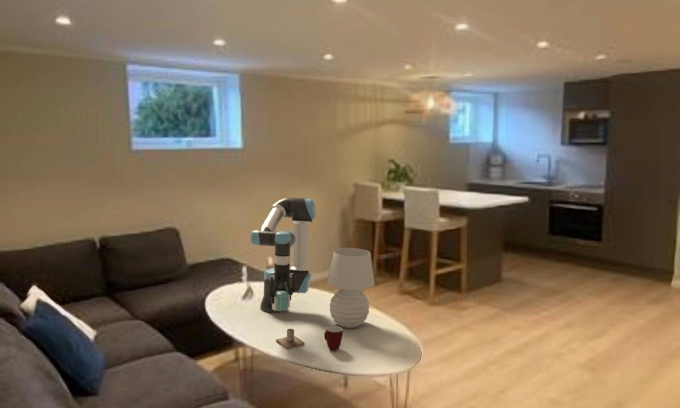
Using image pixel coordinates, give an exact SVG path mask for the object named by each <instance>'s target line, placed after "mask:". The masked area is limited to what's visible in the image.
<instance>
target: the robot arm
mask: <svg viewBox="0 0 680 408" xmlns="http://www.w3.org/2000/svg"><path fill="white" fill-rule="evenodd" d="M268 212H269V213H268V215H267V217H266V218H265V220H264V222H263V223H262V225H261V226H260V228H259V230H258V229H256V230H252V231H251V235H250V242H251V244H252V245H254V246H261V247H262V246H263V247H264V246H265V247H274V264H273V265H274V267H272V268H269V269H266V270H265V271H264V275H263V295H262V299H261V302H260V305H259V306H260V308H259V309H260V310H261V311H263V312H266V313H280V312H282V311H276V297H275V295H276V292H277V291H286V292H288V309H289V308H290V307H291V301H292V296H293V294H294V293H296V294H306V293H308V291H309V288H310V287H311V281H312V273H311V272H309V271H310V269H309V268H308V267H307V264H308V263H307V262H308V251H309V249H308V247H309V235H310V234H309V233H310V225H311V224H312V223H313V220H315V219H316V215H317V214H316V205H315V201H314V200H313V199H312V198H306V197H304V198H303V197H284V198H281V199H279V200H277V201H276V202H274V203H273V204H272V205H271V206H270V208H269V211H268ZM285 218H289V219H290V218H291V221H292V223H293V225H294V227H293V231H290V230H286V231H280V230H279V231H276V230H277V228H278V227H279V225H280V223H281V221H282V220H284V219H285ZM291 247H292V255H291ZM290 263H291V264H290Z"/></svg>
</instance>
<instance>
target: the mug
mask: <svg viewBox="0 0 680 408" xmlns="http://www.w3.org/2000/svg"><path fill="white" fill-rule="evenodd" d="M343 333H344V329H343V327H341V326H339V325H337V326H336V325H331V326H327V327H326V328H325V332H324V334H323V335H324V336H323V337H324V340H325V341H326V344H327V348H328V349H329V351H332V352H333V351H339V348H340V346H341V344H342V339H343V335H344V334H343Z"/></svg>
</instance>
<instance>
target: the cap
mask: <svg viewBox="0 0 680 408" xmlns="http://www.w3.org/2000/svg"><path fill="white" fill-rule="evenodd" d="M275 297H276V311H281V312H286V311H287V310H289V308H288V292H286V291H277V292H276V295H275Z"/></svg>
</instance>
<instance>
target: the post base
mask: <svg viewBox="0 0 680 408" xmlns="http://www.w3.org/2000/svg"><path fill="white" fill-rule="evenodd" d="M275 342H276V343H277V344H279V345H280V346H281V347H283V348H284V349H285V350H287V349H293V348H296V347H301V346H304V345H305V341H303V340H301V339H300V338H299V337H297V336H296V335H295V329H294V328H287V329H286V337H282V338H281V337H280V338H276V339H275Z"/></svg>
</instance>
